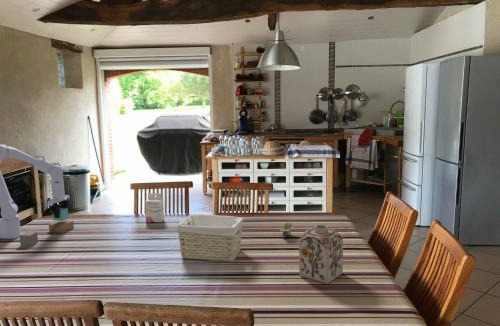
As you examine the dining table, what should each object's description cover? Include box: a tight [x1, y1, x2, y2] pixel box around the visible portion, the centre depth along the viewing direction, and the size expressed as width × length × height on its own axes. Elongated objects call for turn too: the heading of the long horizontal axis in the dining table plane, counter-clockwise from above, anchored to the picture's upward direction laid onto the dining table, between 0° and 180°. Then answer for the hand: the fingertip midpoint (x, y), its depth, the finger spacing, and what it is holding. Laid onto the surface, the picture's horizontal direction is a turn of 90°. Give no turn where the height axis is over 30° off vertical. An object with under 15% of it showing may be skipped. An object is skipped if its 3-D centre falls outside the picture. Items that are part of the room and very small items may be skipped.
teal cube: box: [51, 207, 69, 221], centre depth 206 cm, size 5×5×5 cm
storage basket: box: [176, 214, 244, 263], centre depth 168 cm, size 24×16×15 cm
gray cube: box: [19, 231, 39, 247], centre depth 187 cm, size 5×5×5 cm
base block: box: [48, 219, 75, 234], centre depth 207 cm, size 8×8×4 cm
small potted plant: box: [279, 221, 294, 240], centre depth 189 cm, size 12×18×7 cm, turn 158°
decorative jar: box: [298, 224, 344, 285], centre depth 146 cm, size 12×12×18 cm
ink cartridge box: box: [144, 192, 165, 224], centre depth 216 cm, size 9×5×15 cm, turn 84°
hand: (60, 216), depth 206 cm, fingers closed on teal cube, 5 cm apart
